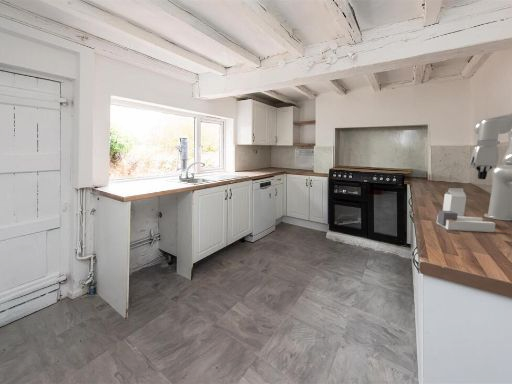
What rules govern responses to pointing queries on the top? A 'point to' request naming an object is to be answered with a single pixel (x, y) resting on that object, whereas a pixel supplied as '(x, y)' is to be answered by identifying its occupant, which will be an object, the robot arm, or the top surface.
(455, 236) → the top surface
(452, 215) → the block
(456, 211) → the milk carton
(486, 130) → the robot arm
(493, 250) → the top surface
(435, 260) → the top surface
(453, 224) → the chute
